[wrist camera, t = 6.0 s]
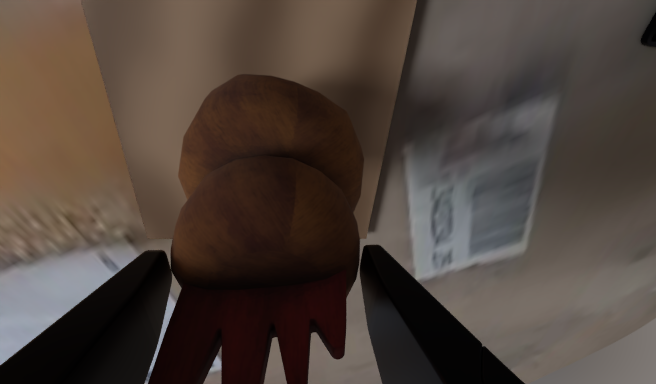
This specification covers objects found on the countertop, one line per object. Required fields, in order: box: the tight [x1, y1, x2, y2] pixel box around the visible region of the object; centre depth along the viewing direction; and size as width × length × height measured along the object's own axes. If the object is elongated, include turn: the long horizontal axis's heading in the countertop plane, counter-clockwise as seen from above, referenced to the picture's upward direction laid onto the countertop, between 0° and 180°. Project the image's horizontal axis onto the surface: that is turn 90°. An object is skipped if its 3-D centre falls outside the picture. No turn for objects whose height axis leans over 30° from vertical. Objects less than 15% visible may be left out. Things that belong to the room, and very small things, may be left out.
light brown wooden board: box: [81, 0, 417, 239], centre depth 18 cm, size 16×22×2 cm
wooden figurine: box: [148, 74, 364, 384], centre depth 10 cm, size 7×6×15 cm
